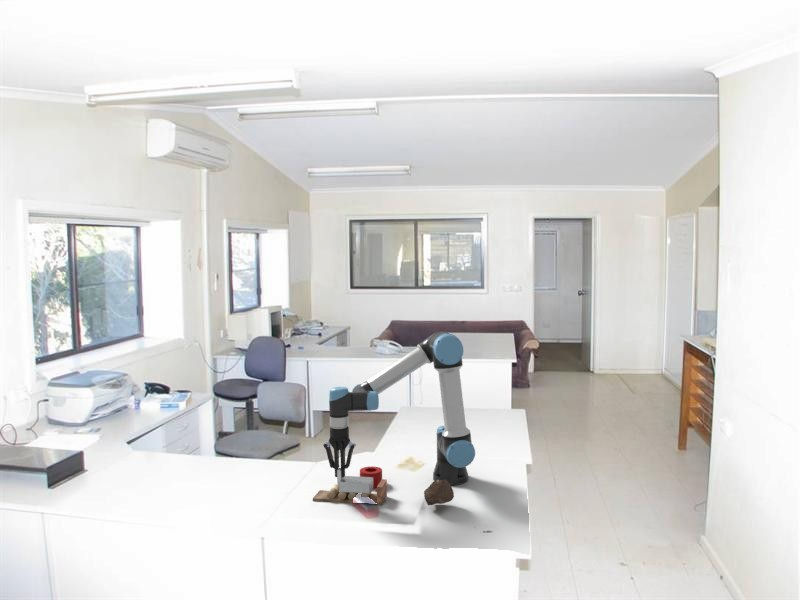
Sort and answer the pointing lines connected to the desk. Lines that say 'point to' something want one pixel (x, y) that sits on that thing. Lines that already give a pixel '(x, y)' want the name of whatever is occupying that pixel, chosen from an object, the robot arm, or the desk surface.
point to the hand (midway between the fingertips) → (340, 485)
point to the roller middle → (342, 495)
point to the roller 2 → (352, 495)
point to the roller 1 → (333, 492)
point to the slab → (356, 484)
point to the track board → (377, 498)
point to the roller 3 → (365, 494)
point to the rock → (438, 492)
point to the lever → (372, 474)
